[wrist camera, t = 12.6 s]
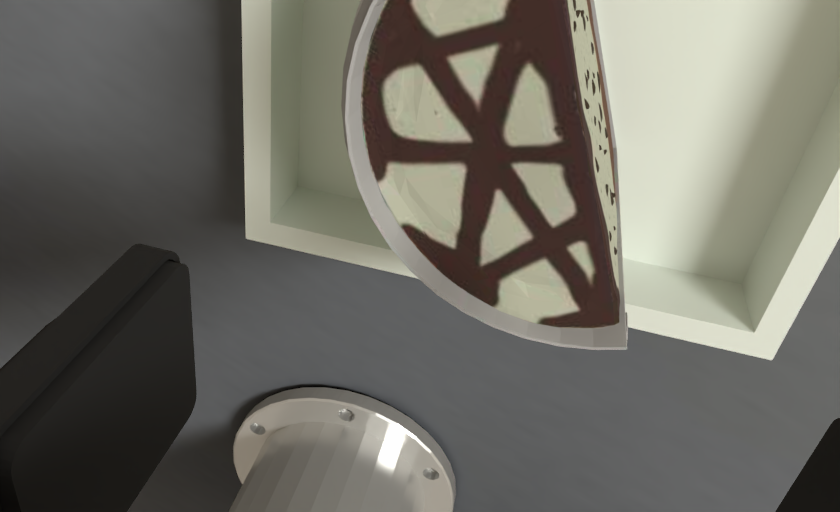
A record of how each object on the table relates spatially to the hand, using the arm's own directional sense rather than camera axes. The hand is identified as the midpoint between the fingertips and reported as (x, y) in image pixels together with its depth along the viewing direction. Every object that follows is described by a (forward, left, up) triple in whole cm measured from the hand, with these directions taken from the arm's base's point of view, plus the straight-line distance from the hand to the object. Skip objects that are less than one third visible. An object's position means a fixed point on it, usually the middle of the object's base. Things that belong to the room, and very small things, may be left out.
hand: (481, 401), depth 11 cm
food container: (0, +2, -17) cm, 17 cm away
